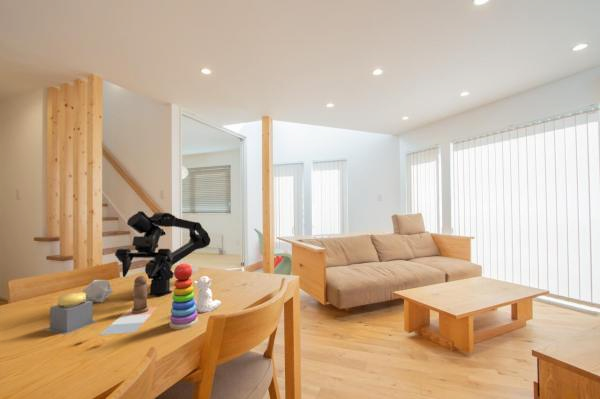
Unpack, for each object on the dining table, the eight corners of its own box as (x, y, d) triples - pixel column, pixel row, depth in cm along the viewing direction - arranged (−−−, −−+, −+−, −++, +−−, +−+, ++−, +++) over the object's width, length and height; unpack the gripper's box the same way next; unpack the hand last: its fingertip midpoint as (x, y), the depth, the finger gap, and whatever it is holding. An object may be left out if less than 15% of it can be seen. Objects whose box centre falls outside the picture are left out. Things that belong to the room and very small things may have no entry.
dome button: (75, 315, 85) (76, 291, 85) (90, 318, 83) (91, 293, 83) (51, 324, 79) (52, 298, 79) (67, 327, 77) (67, 300, 77)
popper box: (77, 320, 87) (77, 297, 87) (98, 323, 84) (98, 300, 84) (43, 332, 78) (43, 308, 78) (65, 337, 75) (65, 311, 76)
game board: (129, 310, 94) (129, 308, 94) (157, 309, 96) (157, 306, 96) (98, 337, 75) (98, 334, 75) (134, 335, 77) (134, 332, 77)
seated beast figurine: (221, 305, 100) (221, 272, 100) (218, 314, 91) (218, 278, 92) (193, 306, 98) (193, 273, 98) (188, 316, 90) (188, 279, 90)
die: (88, 308, 98) (108, 284, 101) (71, 295, 100) (92, 272, 103) (103, 309, 106) (121, 286, 109) (87, 296, 107) (106, 275, 110)
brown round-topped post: (142, 307, 95) (142, 273, 95) (151, 309, 93) (151, 275, 93) (128, 312, 91) (128, 277, 91) (138, 315, 89) (138, 278, 89)
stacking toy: (175, 320, 86) (175, 261, 87) (201, 319, 87) (201, 260, 87) (164, 332, 78) (165, 266, 79) (193, 331, 79) (194, 266, 79)
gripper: (117, 227, 101) (99, 265, 90) (170, 227, 103) (158, 264, 93) (128, 243, 109) (112, 280, 99) (177, 243, 111) (167, 279, 101)
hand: (137, 276), depth 97 cm, fingers open, 9 cm apart
